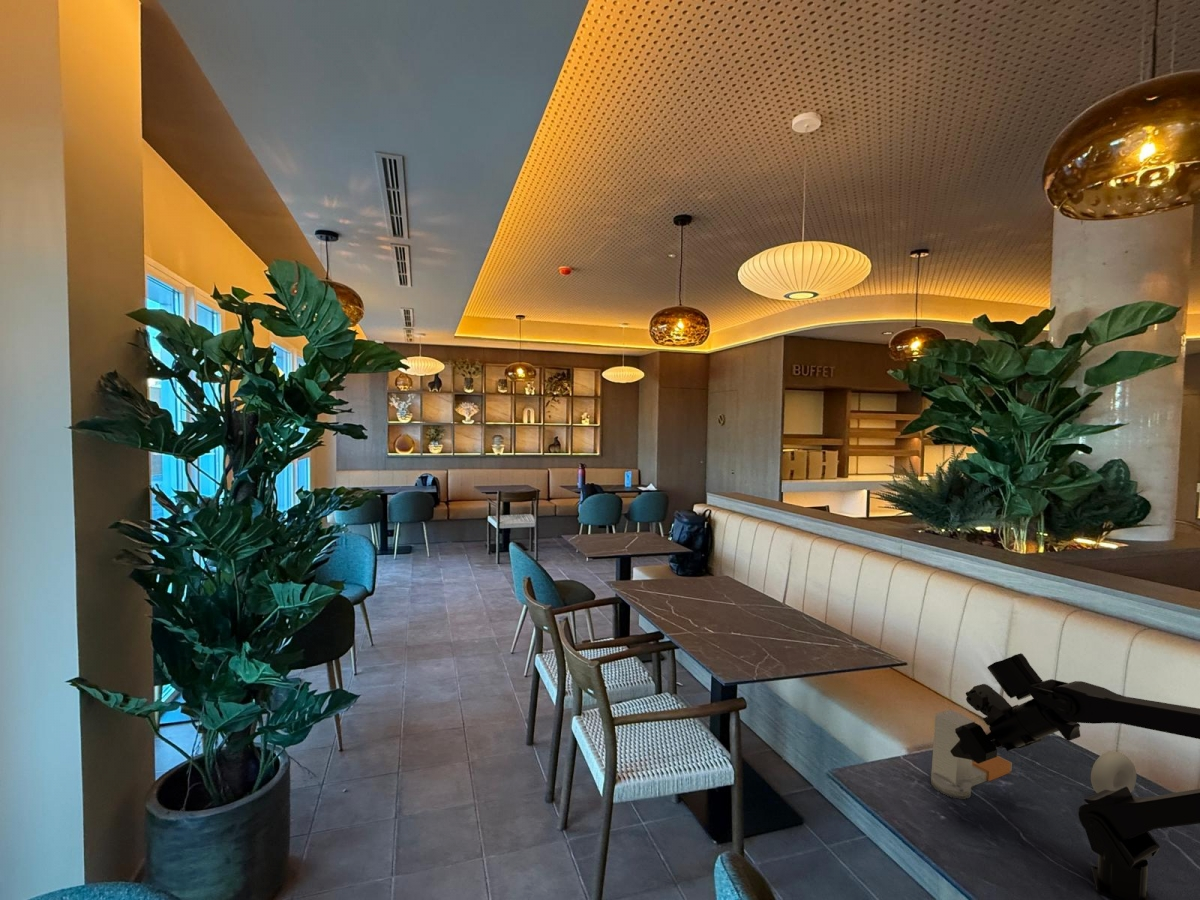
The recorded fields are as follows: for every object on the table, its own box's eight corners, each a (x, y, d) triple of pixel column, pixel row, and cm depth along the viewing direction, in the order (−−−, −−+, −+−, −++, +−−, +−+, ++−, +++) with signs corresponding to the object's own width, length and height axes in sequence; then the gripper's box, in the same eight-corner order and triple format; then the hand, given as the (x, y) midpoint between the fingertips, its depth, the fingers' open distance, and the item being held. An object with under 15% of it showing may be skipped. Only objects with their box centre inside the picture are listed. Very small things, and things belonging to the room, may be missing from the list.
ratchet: (957, 802, 109) (958, 778, 109) (923, 782, 115) (924, 759, 115) (1021, 776, 118) (1022, 753, 118) (987, 758, 125) (988, 736, 125)
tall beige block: (970, 780, 112) (975, 721, 112) (955, 786, 110) (959, 726, 110) (946, 766, 117) (950, 709, 116) (931, 771, 115) (935, 713, 114)
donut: (1104, 810, 108) (1107, 760, 108) (1085, 798, 111) (1087, 750, 111) (1139, 802, 111) (1142, 754, 110) (1119, 791, 114) (1122, 744, 114)
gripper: (1026, 670, 109) (967, 700, 120) (967, 686, 102) (910, 716, 112) (1071, 728, 102) (1005, 755, 113) (1012, 749, 95) (947, 776, 105)
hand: (966, 748), depth 111 cm, fingers open, 9 cm apart
